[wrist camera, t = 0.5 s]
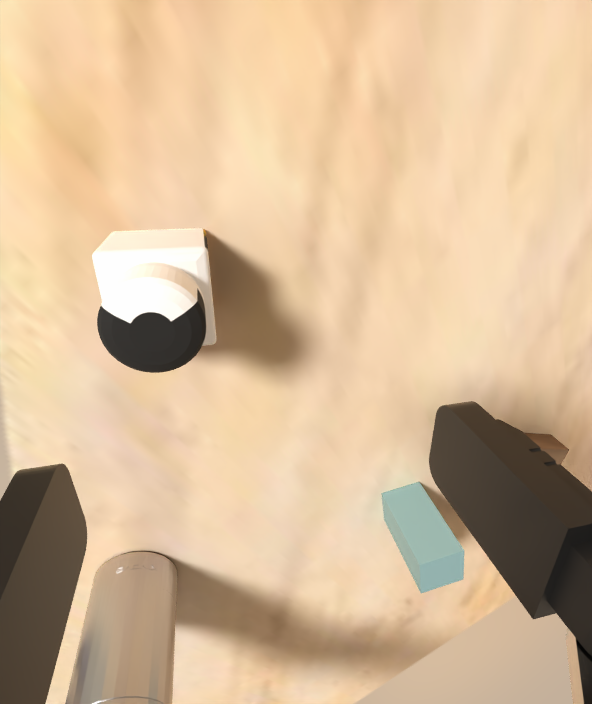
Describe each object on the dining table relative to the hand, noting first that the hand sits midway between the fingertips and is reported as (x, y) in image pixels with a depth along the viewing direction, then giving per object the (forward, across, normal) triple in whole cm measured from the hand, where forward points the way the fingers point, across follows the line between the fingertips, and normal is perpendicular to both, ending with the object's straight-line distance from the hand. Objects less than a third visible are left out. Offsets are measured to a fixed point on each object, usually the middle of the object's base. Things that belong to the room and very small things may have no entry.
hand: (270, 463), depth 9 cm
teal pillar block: (+28, +20, -35) cm, 49 cm away
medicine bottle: (+28, -4, -3) cm, 29 cm away
